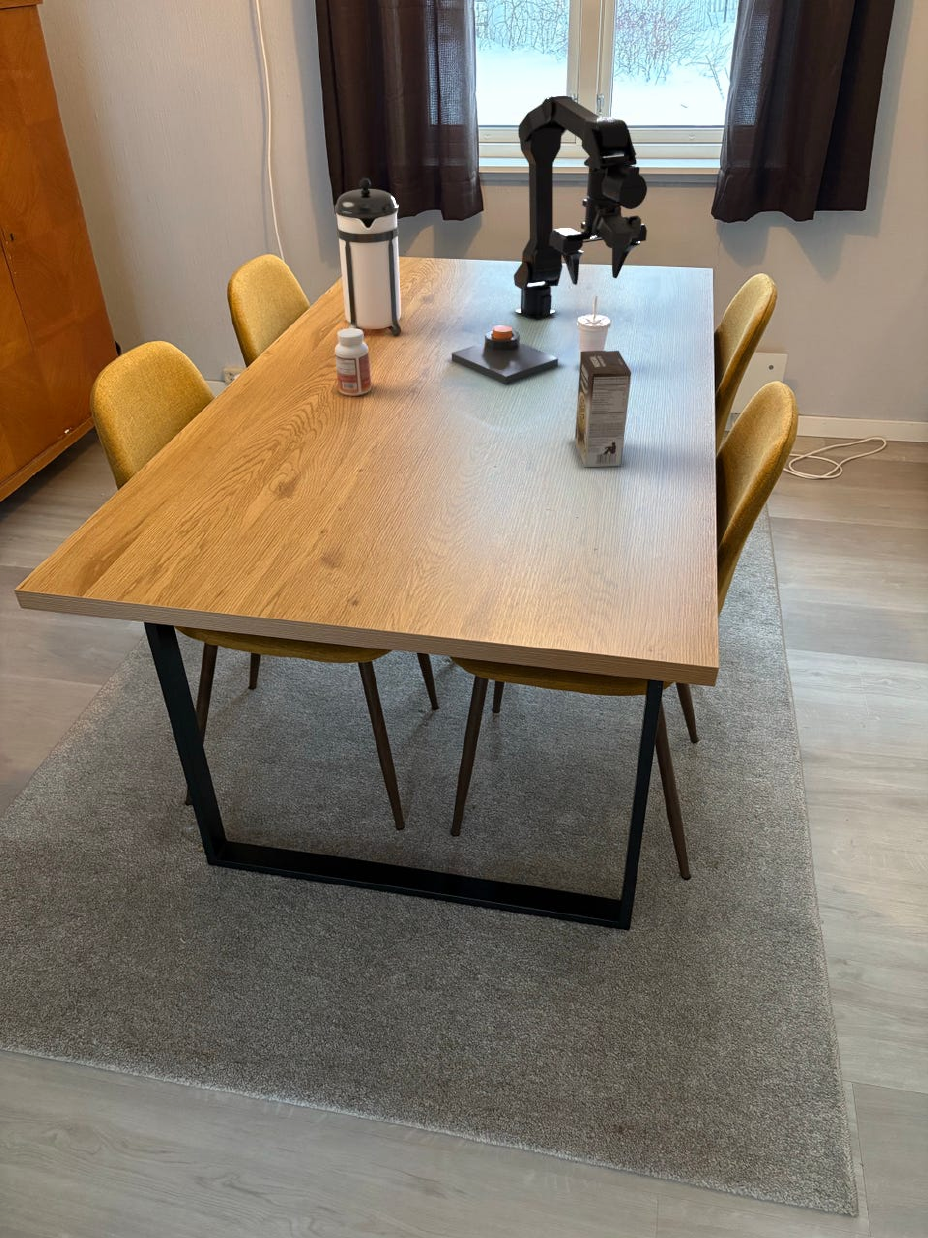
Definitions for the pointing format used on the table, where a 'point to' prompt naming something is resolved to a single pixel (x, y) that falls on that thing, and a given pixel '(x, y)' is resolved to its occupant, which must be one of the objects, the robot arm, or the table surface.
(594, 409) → the coffee box
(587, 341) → the smoothie
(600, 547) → the table surface
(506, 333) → the power button
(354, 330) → the pill bottle
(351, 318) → the coffee press
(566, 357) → the table surface
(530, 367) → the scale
